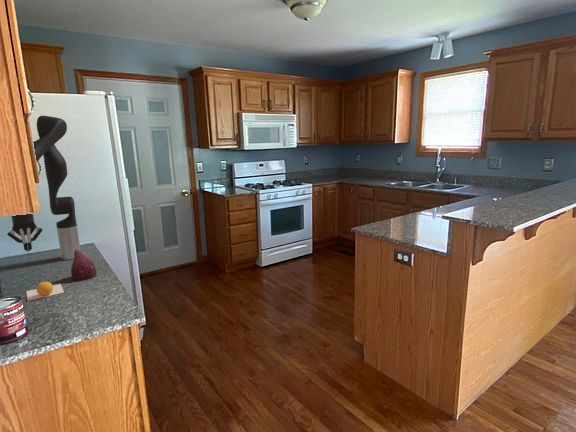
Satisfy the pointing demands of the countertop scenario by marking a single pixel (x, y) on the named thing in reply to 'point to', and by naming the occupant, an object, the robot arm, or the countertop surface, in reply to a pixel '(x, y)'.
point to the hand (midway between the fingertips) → (28, 250)
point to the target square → (56, 290)
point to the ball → (44, 288)
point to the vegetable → (82, 267)
